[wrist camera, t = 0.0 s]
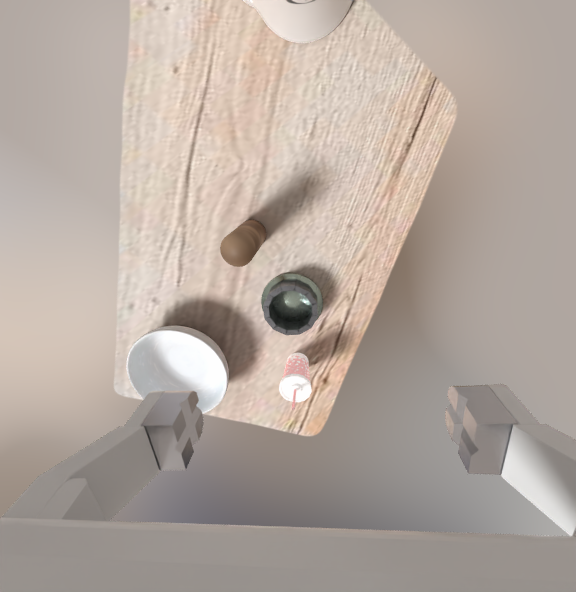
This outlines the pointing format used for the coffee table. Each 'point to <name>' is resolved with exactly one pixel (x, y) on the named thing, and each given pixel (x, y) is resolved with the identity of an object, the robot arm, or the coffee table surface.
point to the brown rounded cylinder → (243, 243)
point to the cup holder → (291, 303)
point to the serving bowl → (179, 365)
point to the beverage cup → (296, 379)
